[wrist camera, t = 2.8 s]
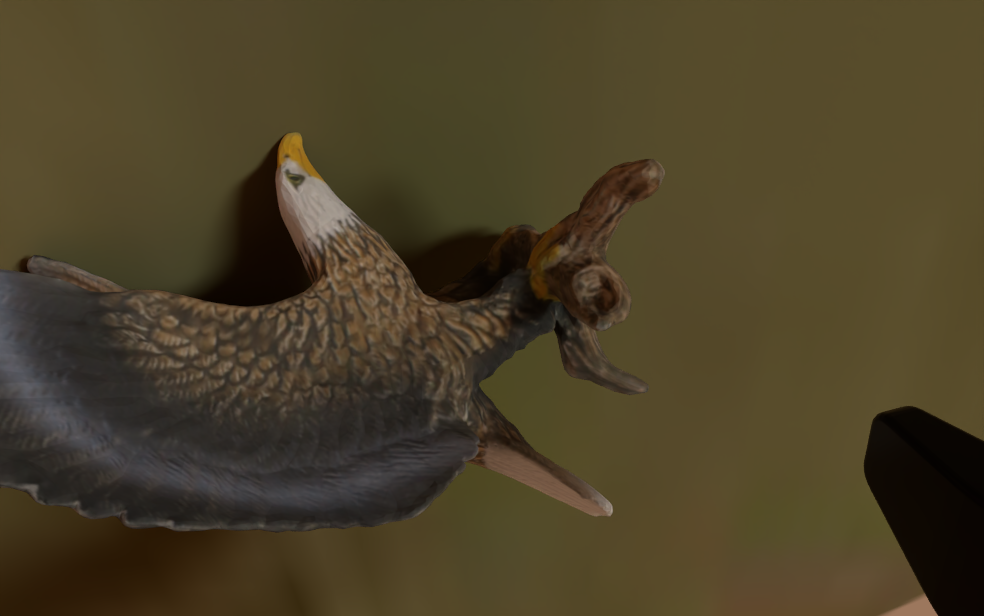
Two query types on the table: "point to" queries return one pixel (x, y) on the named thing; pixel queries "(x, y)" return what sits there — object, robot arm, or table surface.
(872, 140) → the table surface
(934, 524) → the robot arm
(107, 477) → the eagle figurine
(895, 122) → the table surface
